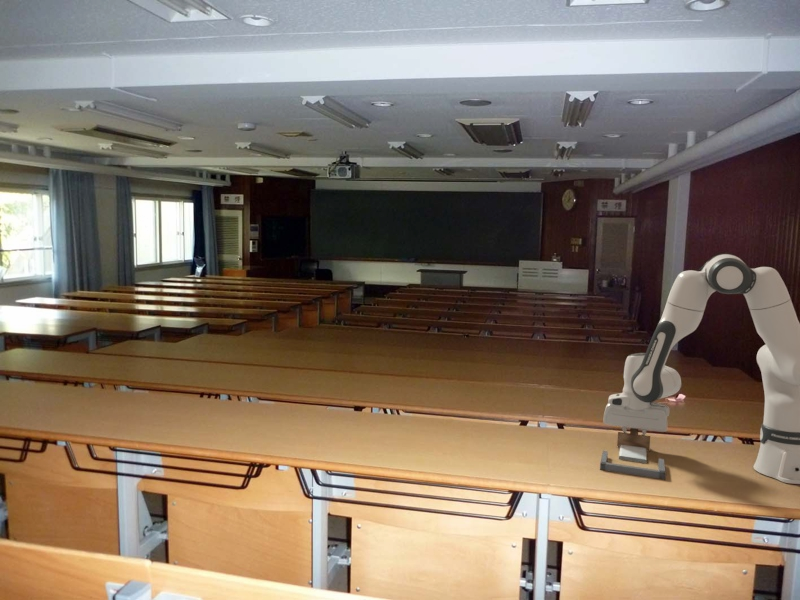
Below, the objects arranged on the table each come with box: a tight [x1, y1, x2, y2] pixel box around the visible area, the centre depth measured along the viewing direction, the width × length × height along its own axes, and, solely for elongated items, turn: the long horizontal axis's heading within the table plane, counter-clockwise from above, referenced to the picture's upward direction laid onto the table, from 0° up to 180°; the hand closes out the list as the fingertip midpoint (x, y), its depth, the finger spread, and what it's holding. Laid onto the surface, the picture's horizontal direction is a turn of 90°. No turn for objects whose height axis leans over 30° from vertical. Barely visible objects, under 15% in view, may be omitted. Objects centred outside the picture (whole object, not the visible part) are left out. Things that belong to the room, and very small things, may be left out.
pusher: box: [616, 428, 651, 452], centre depth 207 cm, size 10×7×5 cm
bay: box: [599, 450, 666, 480], centre depth 187 cm, size 18×12×2 cm
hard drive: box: [618, 445, 647, 464], centre depth 199 cm, size 2×8×12 cm
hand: (633, 440), depth 207 cm, fingers closed on pusher, 2 cm apart
